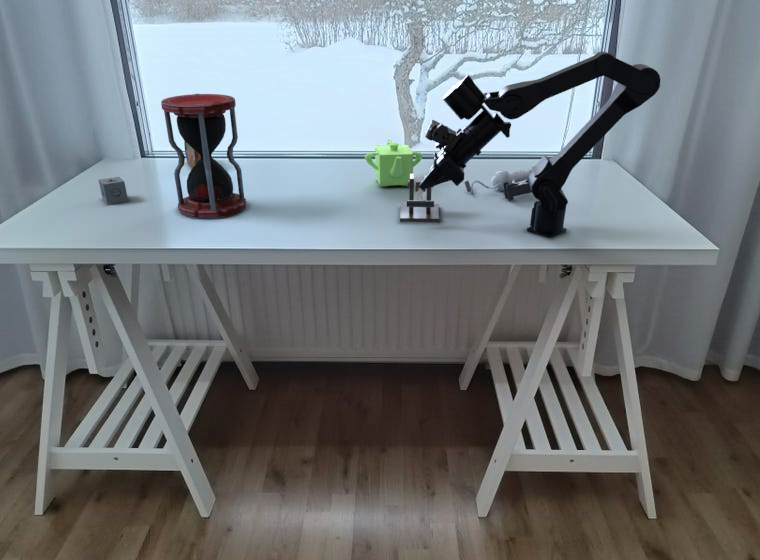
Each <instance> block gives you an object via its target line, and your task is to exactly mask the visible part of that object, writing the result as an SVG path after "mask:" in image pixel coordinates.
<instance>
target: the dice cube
mask: <svg viewBox="0 0 760 560" xmlns="http://www.w3.org/2000/svg"><path fill="white" fill-rule="evenodd" d="M98 185H99V189H100V194H101V198H102V201H104V202H105V204H106V205H108V206H109V205H113V204H114V205H115V204H120V203H121V204H122V203H126V202H129V198H128V193H127V188H126V183H125V181H124V180H123V178H121V177H120V176H113V177H108V178H99V179H98Z"/></svg>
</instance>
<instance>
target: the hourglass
mask: <svg viewBox="0 0 760 560" xmlns="http://www.w3.org/2000/svg"><path fill="white" fill-rule="evenodd" d="M160 102H161V103H160V104H161V105H160V106H161V109H162V111H163V115H164V120H165V126H166V133H167V139H168V143H169V145H170V147H171V148H172V149H173V150H175V152H176V154H177V157H178V164H177V166H176V167H175V169H174V173H173V176H174V181H175V187H176V194H177V201H178V203H177V208H178V209H177V210H178V212H179V213H180V214H181V215H183V216H185V217H188V218H193V219H219V218H225V217H230V216H234V215H237V214H239V213H242V212H243V211H244V210H245V209H246V208H247V198H245V189H244V182H243V171H242V168H241V166H240V164H239V163H238V162H237V161H236V160H235V157H234V148H235V146H236V145H237V142H238V138H239V136H238V127H237V118H236V117H237V116H236V109H235V108H236V98H235V97H234V96H233V95H232V96H231V95H227V94H220V93H192V94H183V95H174V96H170V97H166V98H164V99H162V100H161V101H160ZM227 111H229V117H230V125H231V135H232V138H231V141H230V144H229V145H228V146H227V149H226V156H227V159H228V162H229V164H231V165H233V167H234V169H235V171H236V176H237V177H236V179H237V188H238V193H235V192H234V183H233V179H232V177H231V175H230V173H229V172H228V171H227V169H226V168H224V166H223V165H221V163H220V162H219V161H217V160H216V159H215V158H214V157H213V156H212V154H213V153H214V152H215V150H216V149H217V148H218V146H220V144H221V142H222V141H223V139H224V136H225V134H226V129H227V126H226V125H227V122H226V117H225V114H226V112H227ZM171 113H172V114H174V116H176V126H177V129H178V133H179V135H180V136H181V138H182V139H183V142H184V141H185V142H186V143H187V144H188V145H189V146H190V147H192V148H193V149H194V150H195V151H196V152H197V153H199V154H200V157H201V158H200V159H199V161H198V162H197V163H196V164H195V166H194V167H193V168H191V170H190V171H189V173H188V176H187V179H186V190H187V195H188V196H186V197H184V196H183V189H182V182H181V176H180V175H181V170H182V169H183V167H185V162H186V161H185V160H186V155H185V154H184V151H183V150H182V149H181V148H180V147H179V146H178V145H177V143H176V141H175V137H174V132H173V125H172V118H171Z"/></svg>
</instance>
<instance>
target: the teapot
mask: <svg viewBox="0 0 760 560" xmlns="http://www.w3.org/2000/svg"><path fill="white" fill-rule="evenodd" d="M414 156H415V159H414ZM373 157H374V161H373V160H372V158H373ZM364 160H365V161H366V163H367V164H368V165H369V166H370V167H372V168H373V169H374V170H375V171H374V172H375V174H374V175H375V178H376V180H377V182H378V186H380V187H384V188H385V187H386V188H387V187H390V186H401V187H407V184H408V181H410V174H414V168H415V167H416V166H417V165H418V164H419V163H420V162H421V161H422V160H423V153H421V152H419V151H414V150H411V148H410V147H409V145H408V144H399V143H398V142H393V141H392V140H390V139H389V140H387V145H375V146H374V151H373V152H369V153H366V155H365V156H364Z"/></svg>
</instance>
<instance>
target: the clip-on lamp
mask: <svg viewBox="0 0 760 560" xmlns="http://www.w3.org/2000/svg"><path fill="white" fill-rule="evenodd" d="M531 172H532V170H531V168H527V169H521V170H514V171H509V172H508V171H506V170H502V169H501V170H498V171H496V172H495V175H494V176H493V177H492V178H491V184H492V186H488V185H485V184H484V183H483V182H481V181H480V180H474V181H473V182H472V183H470V181H469V180H468V179H464V181H463V182H464V186H465V188H466V191H467V192H468V193H469V194H473V189H474V184H475V183H478V184H480V185H481V186H482V187H483V188H486V189H489V190H494V189H496V188H497V190H498V191H501V192H503V193H504V199H506V200H508V201H509V202H511V201H513V200H514V197H518V196H523V195H527V194H532V191H531V189H530V186H529V176H530V174H531Z"/></svg>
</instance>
